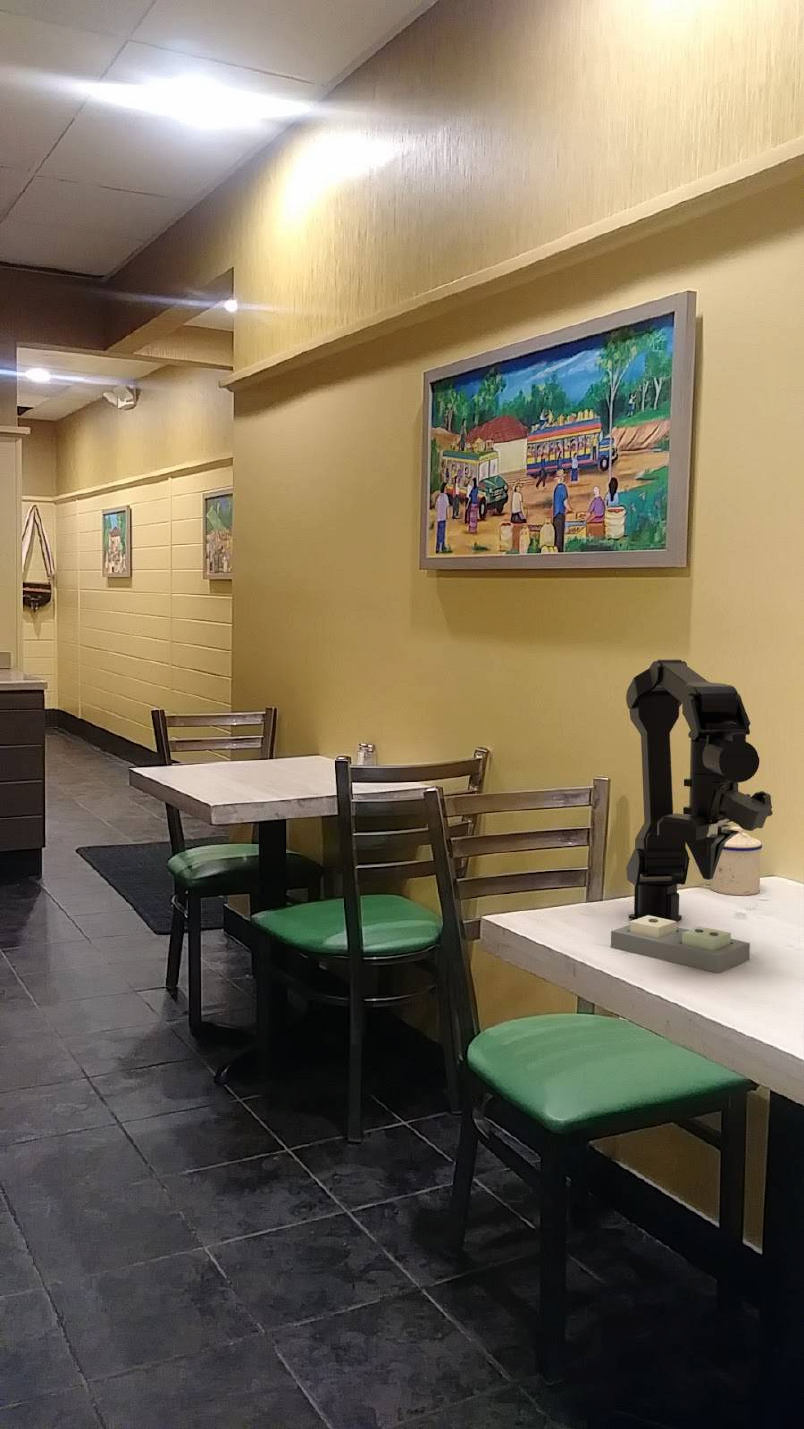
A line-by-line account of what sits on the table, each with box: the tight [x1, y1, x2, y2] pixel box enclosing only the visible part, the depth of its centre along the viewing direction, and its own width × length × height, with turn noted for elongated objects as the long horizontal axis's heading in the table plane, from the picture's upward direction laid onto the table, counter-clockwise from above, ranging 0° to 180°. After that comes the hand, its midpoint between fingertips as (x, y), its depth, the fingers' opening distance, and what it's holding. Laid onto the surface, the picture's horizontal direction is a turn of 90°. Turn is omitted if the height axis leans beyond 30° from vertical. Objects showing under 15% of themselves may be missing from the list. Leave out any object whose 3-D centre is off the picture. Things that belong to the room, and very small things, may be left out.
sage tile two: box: [682, 926, 732, 951], centre depth 169 cm, size 5×5×2 cm
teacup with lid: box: [693, 826, 763, 896], centre depth 212 cm, size 12×9×12 cm
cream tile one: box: [629, 915, 678, 939], centre depth 175 cm, size 5×5×2 cm
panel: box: [610, 924, 751, 974], centre depth 172 cm, size 18×9×2 cm, turn 45°
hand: (707, 879), depth 168 cm, fingers closed
